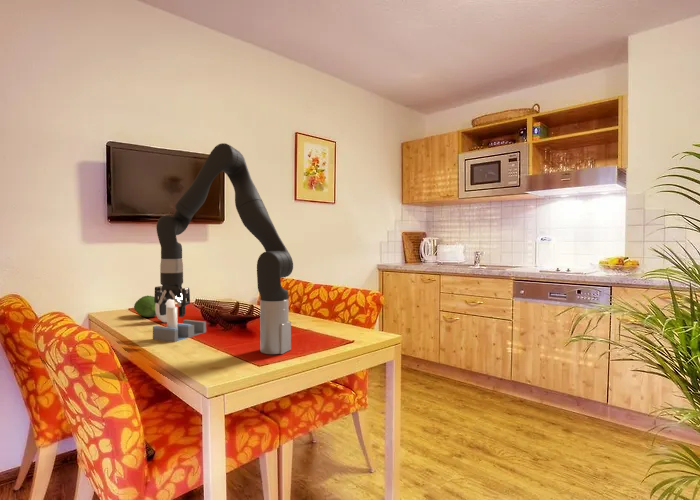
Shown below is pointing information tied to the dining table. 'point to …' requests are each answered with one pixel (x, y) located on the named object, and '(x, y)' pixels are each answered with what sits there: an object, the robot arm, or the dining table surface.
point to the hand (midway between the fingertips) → (172, 315)
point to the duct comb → (179, 331)
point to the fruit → (145, 306)
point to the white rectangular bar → (172, 317)
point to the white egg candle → (168, 304)
